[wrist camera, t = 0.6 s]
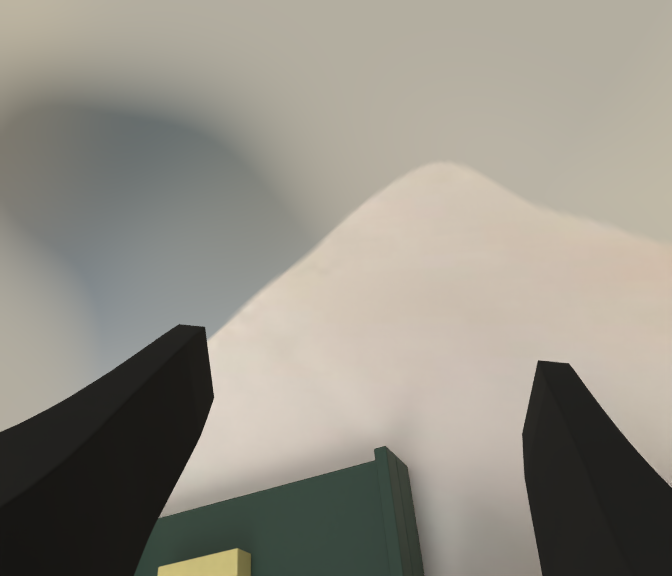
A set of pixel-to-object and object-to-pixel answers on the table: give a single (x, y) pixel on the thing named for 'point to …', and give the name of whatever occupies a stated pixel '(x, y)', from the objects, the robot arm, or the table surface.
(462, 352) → the table surface
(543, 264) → the table surface
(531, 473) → the robot arm
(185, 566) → the yellow chalk
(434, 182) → the table surface
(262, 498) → the tray
